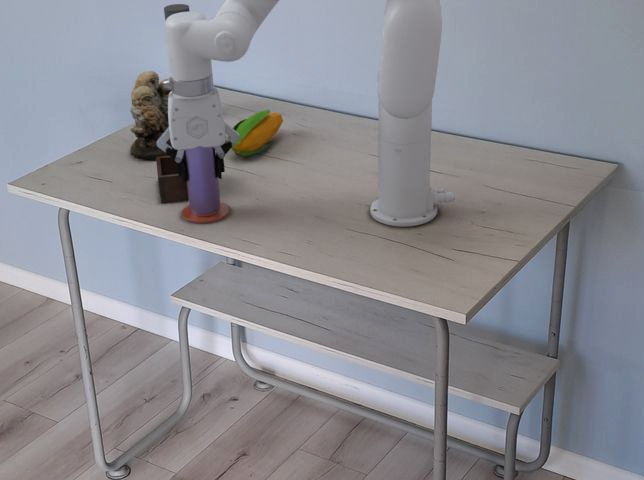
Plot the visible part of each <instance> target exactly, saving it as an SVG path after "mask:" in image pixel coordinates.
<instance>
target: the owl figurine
mask: <svg viewBox="0 0 644 480" xmlns="http://www.w3.org/2000/svg"><path fill="white" fill-rule="evenodd" d="M167 80H169V78H165V79H162V80H161V81H160V76H159V74H158V73H157V72H156V71H154V70H149V71H144V72H140V73H139V74H138V75H137V77H136V81H135V83H134V87H133V88H132V92H131V96H130V97H131V107H130V109H129V112H130V113H131V117H132V118H133V119H134V126H133V127H131V128H130V132H131V133H133V134H134V135H135V137H136V138H137V139H135V141H134V142H133V143H132V144H131V145H130V148H129V149H130V154H131V156H133V157H134V158H142V159H145V160H151V161H156V157H159V156H169V155H168V154H167V153H166V152H164V151H163V150H161V149H160V148H159V147H157V143H156V142H157V140H158V139H159V138H160V137H161V135H162V134H163V133H164V132H165V131H166V129H167V128H168V127H169V121H168V98H169V93H170V92H171V91H172V90H170V89H168V88H164V86H163V81H167ZM166 143H167V144H168V145H169V146H171V147H172V144H171V140H170V139H169V140H168V141H167V142H166ZM175 150H176V149H175Z"/></svg>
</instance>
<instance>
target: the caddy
mask: <svg viewBox="0 0 644 480" xmlns="http://www.w3.org/2000/svg"><path fill="white" fill-rule="evenodd" d="M183 158H184V155H183ZM155 162H156V170H157V171H156V172H157V182H158V188H159V189H158V190H159V199H160V204H166V203H177V202H186V201H189V198H188V189H187V181H186V182H183V178H182V177H179V175H178V167H177V162H176V161H175V160H174V159H173V158H172V157H170V156H159V157H156V160H155Z"/></svg>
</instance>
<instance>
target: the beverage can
mask: <svg viewBox="0 0 644 480" xmlns="http://www.w3.org/2000/svg"><path fill="white" fill-rule="evenodd" d="M183 155H184V161H185V169H186V178H187V189H188V198H189V200H188V205H189V207H190V211H191V212H192V213H193V214H194V215H196V216H201V217H205V216H211V215H214V214H216V213H217V212H218V211H219V209H220V207H221V204H220V203H221V195H220V186H219V185H220V184H219V178H218V174H217V164H216V150H215V149H214V147H210V148H208V147H202V146H197V147H196V148H193V149H190V150H185V151H184V154H183Z"/></svg>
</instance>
